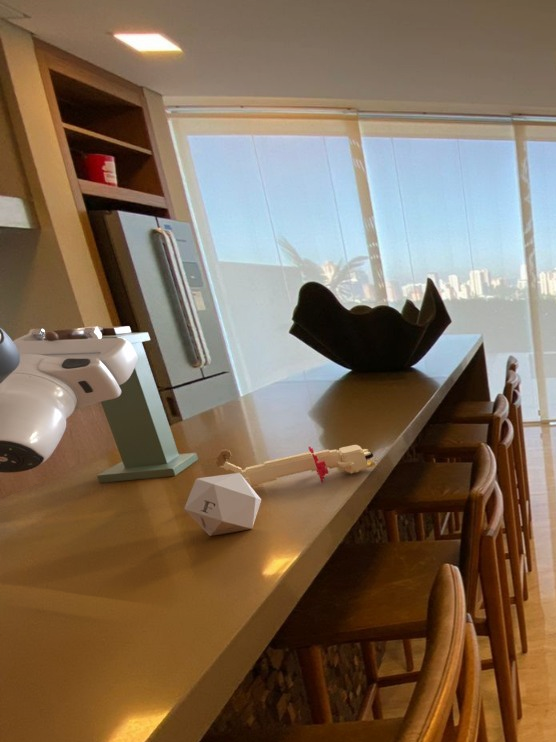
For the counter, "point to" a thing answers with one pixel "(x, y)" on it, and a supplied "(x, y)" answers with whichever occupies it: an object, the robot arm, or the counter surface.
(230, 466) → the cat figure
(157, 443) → the spoon stand
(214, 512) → the die
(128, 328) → the spoon
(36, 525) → the counter surface
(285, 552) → the counter surface
